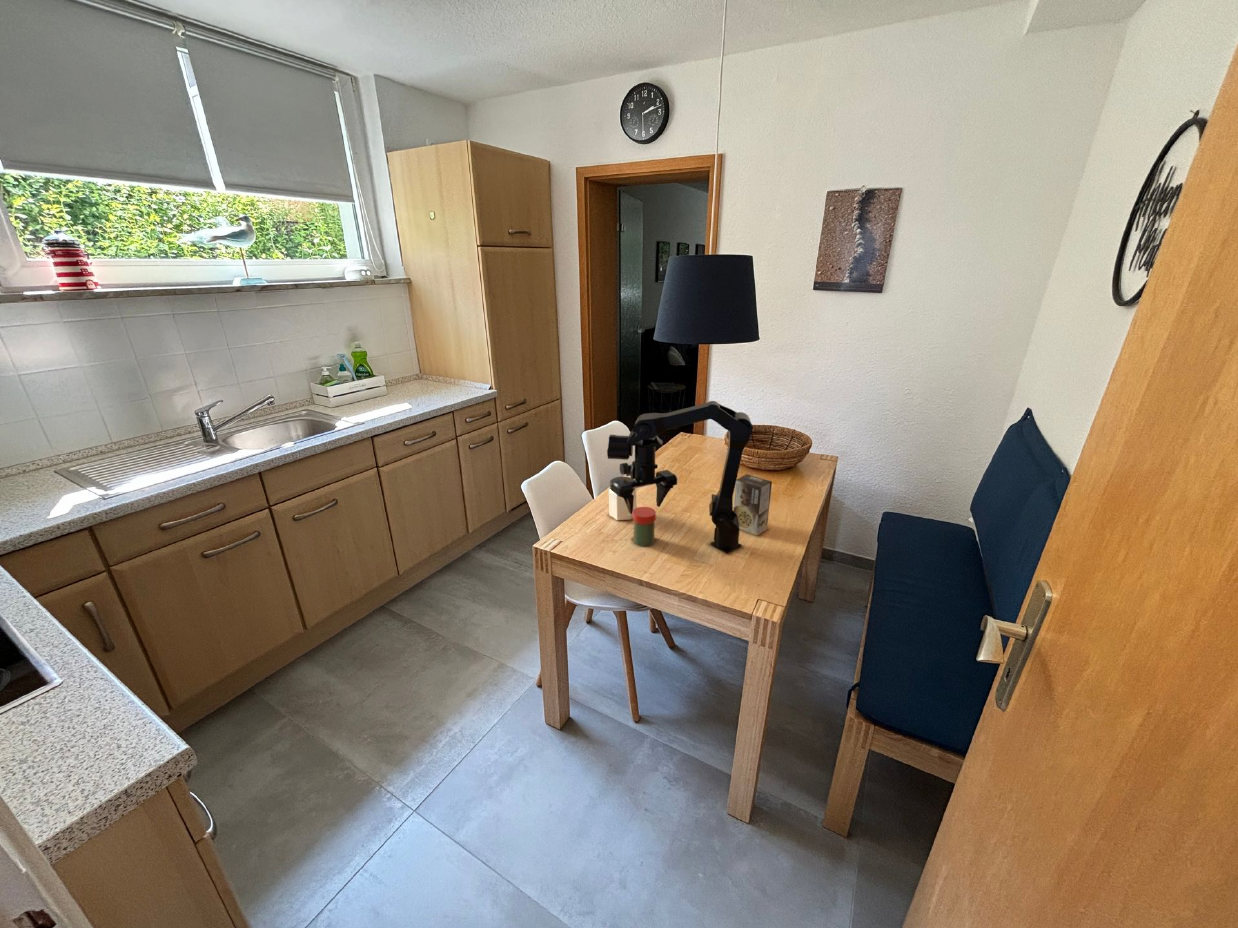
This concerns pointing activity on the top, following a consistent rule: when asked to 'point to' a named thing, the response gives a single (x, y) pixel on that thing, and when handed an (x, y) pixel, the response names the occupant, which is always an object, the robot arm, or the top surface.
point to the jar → (620, 502)
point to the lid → (644, 515)
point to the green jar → (644, 534)
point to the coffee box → (752, 503)
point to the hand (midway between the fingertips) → (644, 509)
